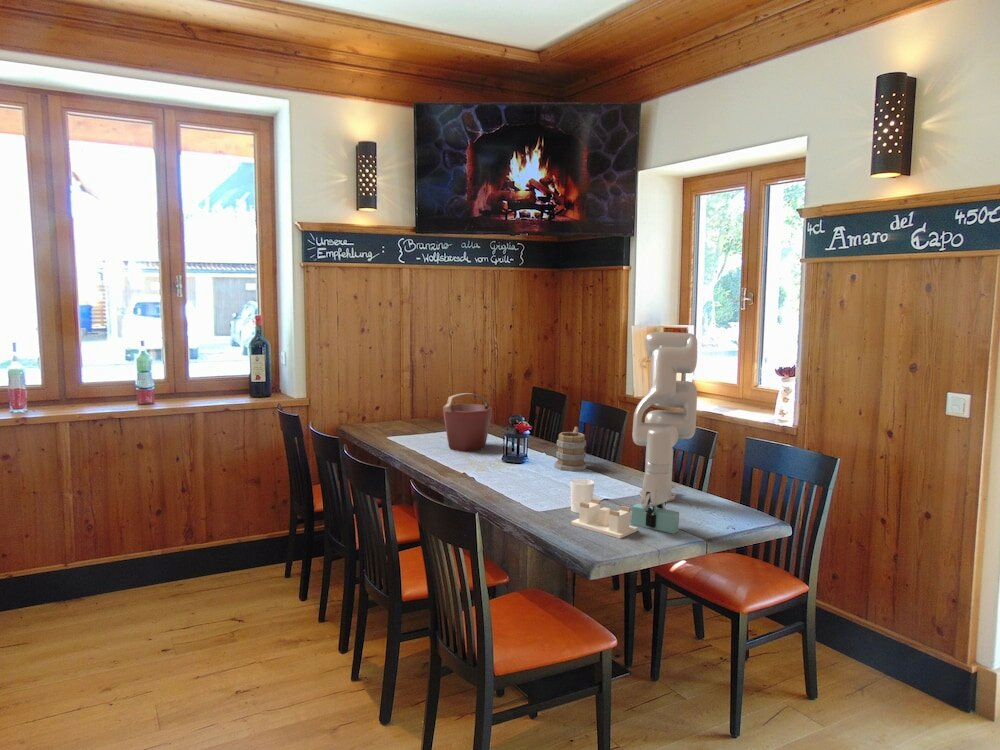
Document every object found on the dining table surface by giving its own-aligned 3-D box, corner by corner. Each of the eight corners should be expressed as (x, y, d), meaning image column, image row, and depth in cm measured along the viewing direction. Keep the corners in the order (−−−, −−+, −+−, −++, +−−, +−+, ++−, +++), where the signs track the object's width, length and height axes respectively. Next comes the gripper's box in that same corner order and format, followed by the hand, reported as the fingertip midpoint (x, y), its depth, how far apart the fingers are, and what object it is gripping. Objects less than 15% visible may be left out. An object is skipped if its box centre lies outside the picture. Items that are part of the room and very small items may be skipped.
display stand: (589, 517, 236) (590, 495, 235) (637, 530, 224) (638, 508, 223) (571, 524, 228) (571, 502, 228) (620, 538, 217) (621, 515, 216)
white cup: (591, 507, 247) (592, 478, 246) (594, 514, 239) (596, 485, 238) (567, 507, 247) (569, 478, 245) (570, 514, 239) (572, 484, 238)
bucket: (447, 454, 319) (448, 398, 316) (432, 443, 339) (433, 390, 336) (499, 450, 328) (500, 396, 325) (481, 440, 348) (482, 389, 345)
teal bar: (636, 521, 234) (637, 503, 233) (678, 530, 226) (679, 511, 225) (631, 524, 230) (632, 506, 230) (673, 534, 223) (674, 515, 222)
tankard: (582, 472, 294) (583, 436, 292) (551, 469, 297) (553, 433, 296) (591, 461, 312) (593, 427, 311) (563, 458, 316) (564, 424, 314)
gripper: (660, 461, 234) (657, 516, 237) (633, 470, 222) (630, 528, 224) (681, 465, 230) (678, 521, 232) (654, 475, 217) (651, 534, 219)
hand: (654, 524), depth 228 cm, fingers closed on teal bar, 4 cm apart
